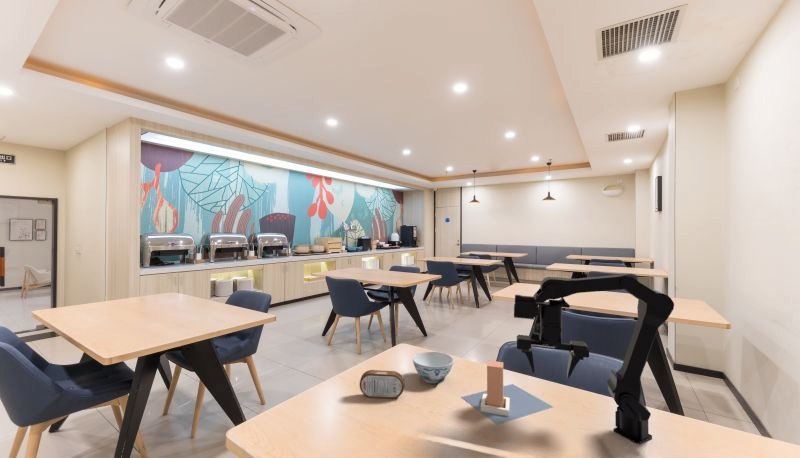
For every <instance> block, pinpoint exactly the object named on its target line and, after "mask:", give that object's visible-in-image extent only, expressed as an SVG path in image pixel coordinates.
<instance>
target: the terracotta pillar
mask: <svg viewBox="0 0 800 458" xmlns="http://www.w3.org/2000/svg"><path fill="white" fill-rule="evenodd" d="M504 386H505V385H504V362H503V361H497V360H496V361H495V360H488V361H487V364H486V387H487V388H486V389H487V390H486V391H487V405H489V406H495V407H501V408H503V406H504Z"/></svg>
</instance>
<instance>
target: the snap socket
mask: <svg viewBox="0 0 800 458" xmlns="http://www.w3.org/2000/svg"><path fill="white" fill-rule="evenodd" d="M486 401H487V394H483V398H482V402H481V411H482V412H488V413H494V414H499V415H505V416H509V407H510V398H508V397H504V404H506V408H501V407H495V406H489V405H486Z"/></svg>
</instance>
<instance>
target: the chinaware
mask: <svg viewBox="0 0 800 458" xmlns="http://www.w3.org/2000/svg"><path fill="white" fill-rule="evenodd" d="M412 362H413V363H412V364H413V366H414V369H415V371H416V372H417V373H418V375H419V376H420V377H422V378H423V380H424V382H425V383H429V384H438V383H440V382H441V381H442V380H443V379H444V378H446V377H447V376H448V375H449V373H450V372H451V370H452V367H453V365H454V358H453V357H452V356H451V355H449V354H447V353H446V352H440V351H422V352H419V353H416V354H415V355H414V356H412Z"/></svg>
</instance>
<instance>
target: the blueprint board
mask: <svg viewBox="0 0 800 458" xmlns="http://www.w3.org/2000/svg"><path fill="white" fill-rule="evenodd" d="M483 394H487V390H483V391H479V392H475V393H472V394H468V395H464V396H460V398H461V399H463V401H465V402H466V403H467V404H469V405H470V406H471V407H473V408H474V409H476V410H477V411H478V412H480V414H482V415H484V417H486V418H488V419H489V421H491V422H493V423H494V424H495V425H497V426H498V425H501V424H504V423H508V422H510V421H514V420H517V419H520V418H522V417H527V416H528V415H529V416H530V415H532V414H536V413H538V412H543V411H545V410H549V409H552V408H554V406H553V405H552V404H549V403H547V402H546V401H544V400H542V399H541V398H538V397H536V396H535V395H533V394H531V393H530V392H528V391H526V390H525V389H523V388H520V387H519V386H517V385H515V384H514V383H511V384H508V385H504V397H508V398H510V407H509V416H505V415H499V414H494V413H488V412H482V411H481V402H482V398H483ZM486 405H487V401H486ZM503 408H506V404H504V406H503Z"/></svg>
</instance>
